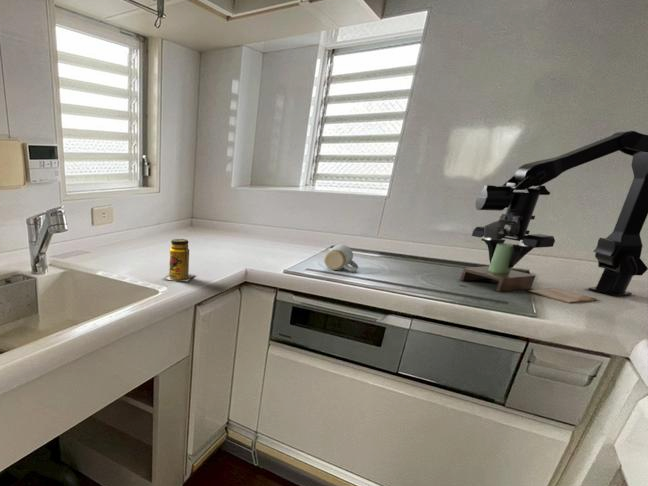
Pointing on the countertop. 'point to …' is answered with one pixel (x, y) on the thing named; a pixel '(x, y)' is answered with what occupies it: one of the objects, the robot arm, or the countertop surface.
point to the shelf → (500, 278)
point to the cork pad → (562, 295)
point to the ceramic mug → (340, 258)
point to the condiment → (179, 261)
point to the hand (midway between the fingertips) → (500, 265)
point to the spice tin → (501, 258)
